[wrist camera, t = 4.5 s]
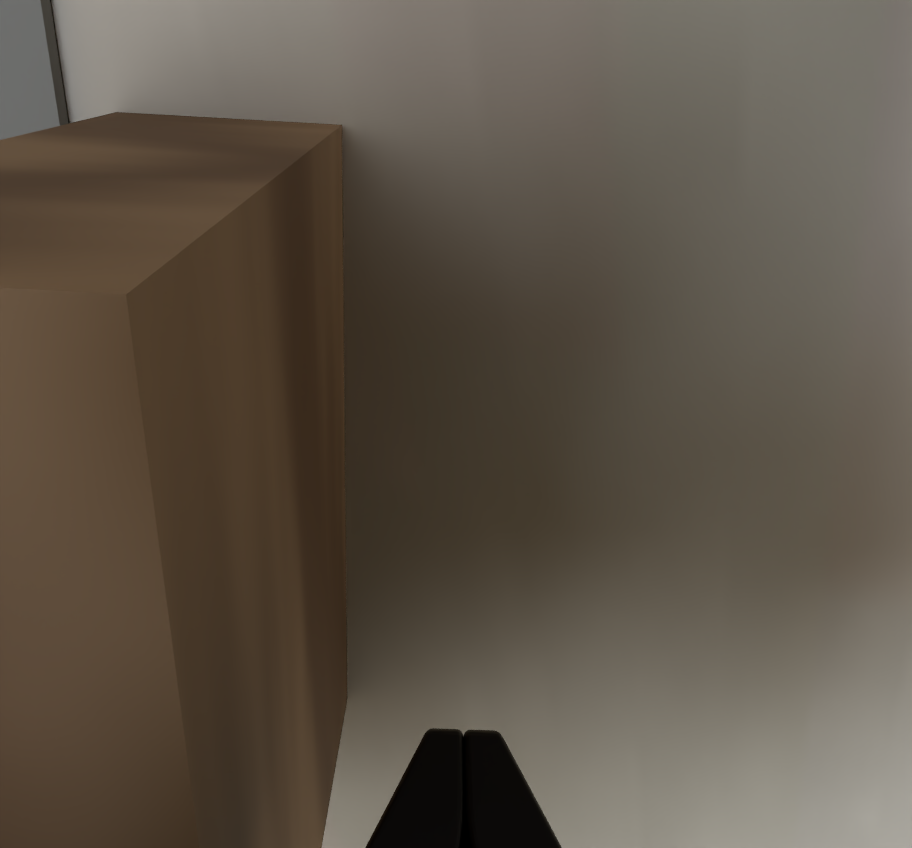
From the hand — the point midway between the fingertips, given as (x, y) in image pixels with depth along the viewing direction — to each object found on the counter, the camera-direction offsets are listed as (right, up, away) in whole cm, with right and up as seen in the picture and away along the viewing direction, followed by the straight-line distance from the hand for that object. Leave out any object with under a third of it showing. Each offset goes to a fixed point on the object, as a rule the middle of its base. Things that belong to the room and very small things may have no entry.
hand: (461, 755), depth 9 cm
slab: (-4, +3, +6) cm, 8 cm away
